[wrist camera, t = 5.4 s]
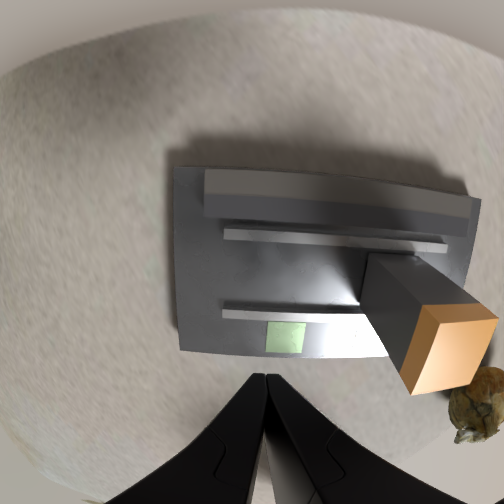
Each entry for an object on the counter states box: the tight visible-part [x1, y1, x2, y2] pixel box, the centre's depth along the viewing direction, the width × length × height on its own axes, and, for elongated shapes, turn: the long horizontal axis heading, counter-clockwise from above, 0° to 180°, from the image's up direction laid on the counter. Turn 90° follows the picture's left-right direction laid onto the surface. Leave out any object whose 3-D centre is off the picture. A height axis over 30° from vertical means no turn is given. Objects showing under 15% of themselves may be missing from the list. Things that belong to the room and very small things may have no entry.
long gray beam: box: [204, 168, 472, 237], centre depth 16 cm, size 16×2×1 cm, turn 87°
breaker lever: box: [359, 253, 499, 395], centre depth 13 cm, size 4×4×8 cm
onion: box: [448, 366, 504, 444], centre depth 19 cm, size 8×8×8 cm
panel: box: [173, 166, 481, 358], centre depth 18 cm, size 20×12×2 cm, turn 87°
